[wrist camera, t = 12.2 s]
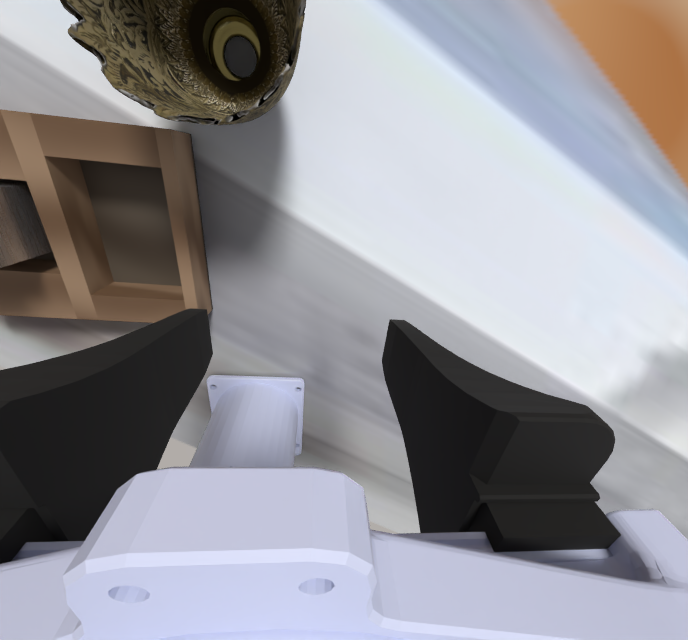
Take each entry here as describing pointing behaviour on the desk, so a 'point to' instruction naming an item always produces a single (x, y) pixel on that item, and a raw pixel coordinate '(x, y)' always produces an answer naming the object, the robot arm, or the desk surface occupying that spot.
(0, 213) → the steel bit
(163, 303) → the socket board
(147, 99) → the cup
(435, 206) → the desk surface
